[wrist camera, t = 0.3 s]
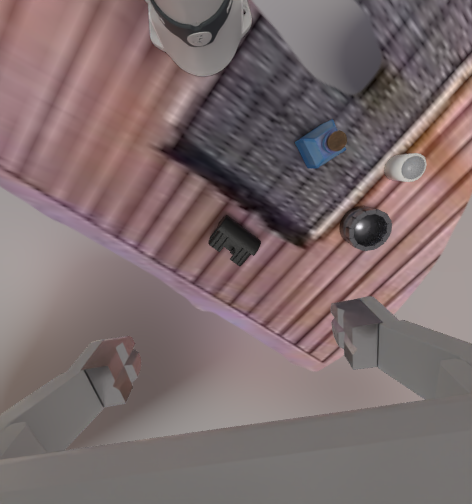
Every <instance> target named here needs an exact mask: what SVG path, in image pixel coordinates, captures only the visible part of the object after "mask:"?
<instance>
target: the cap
mask: <svg viewBox="0 0 472 504" xmlns="http://www.w3.org/2000/svg"><path fill="white" fill-rule="evenodd" d="M425 169H426V160H425V158H424V156H422V155H421V154H418V153H414V154H401V155H395V156H393V157H391V158H390V159H389V160H388V161H387V163H386V164H385V167H384V173H385V176H386V177H387V178H388V179H389V180H393V181H406V182H412V181H415V180H417V179H418V178H420V177H421V176H422V175H423V173H424V171H425Z"/></svg>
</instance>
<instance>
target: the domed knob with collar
mask: <svg viewBox="0 0 472 504" xmlns="http://www.w3.org/2000/svg"><path fill="white" fill-rule="evenodd" d="M391 222H392V221H391V220H390V218H389V216H388V215H387V214H386V213H385V212H382V211H380V210H378V209H374V208H369V207H365V206H360V207H356V208H353V209H351V210H350V211H348V212H347V213H346V214H345V215H344V217H343V218H342V220H341V223H340V233H341V236H342V237H343V239H344V240H345V241H347V242H348V243H350V244H351V245H352V246H354V247H355V248H358V249H360V250H363V251H368V250H374V249H376V248H378V247H380V246H381V245H383V244H384V242H386V240H387V239H388V237H389V236H390V234H391V228H392V223H391Z"/></svg>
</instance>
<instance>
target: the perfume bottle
mask: <svg viewBox="0 0 472 504" xmlns="http://www.w3.org/2000/svg"><path fill="white" fill-rule="evenodd" d="M346 142H347V137H346V135H345V133H344V132H342V131H338V130H337V128H336V125H335V123H334V121H333V119H332V120H330V121H327V122H325V123H323V124H321V125H320V126H318V127H317V128H315V129H314V130H312V131H311V132H309V133H308V134H306V135H305V136H303V137H302V138H300V139H299V140H297V141H296V142H295V144H296V146H297V148H298V150H299V152H300V154H301V156H302V158H303V160H304V162H305V164H306V166H307V168H318V167H320V166H322V165H323V164H325V163H326V162H328V161H329V160H331V159H333V158H334V157H336V156H337V155H339V154H340V153H342V152H343V151H345V150H346V148H345V145H346Z"/></svg>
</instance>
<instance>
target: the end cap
mask: <svg viewBox="0 0 472 504" xmlns="http://www.w3.org/2000/svg"><path fill="white" fill-rule="evenodd" d="M260 244H261V241H260V240H259V239H258V238H256V237H255V236H254V235H252V234H251V233H250V232H248V231H247V230H246V229H244V228H243V227H242V226H240V225H239V224H238V223H237V222H235V221H234V220H233V219H231V218H230V217H229V216H227V215H226V216H224V217H223V218H222V220H221V221H220V222H219V224H218V228H217V229H216V230H215V231H214V233H213V234H212V235H211V237H210V240H209V245H210V246H212V247H213V248H215V249H216V250H217V251H219V252H220V251H221V250H222V248H223V247H225V248H226V249H228V250H229V251H231V252H230V253H231V254H233V256H232V257H231V258H230V260H231V261H233V262H234V263H236V264H237V265H239V266H241V265H242V264H243V263H244V262H245V261H246V260H247V258H248V257H249V256H250V255H251V254H252V255H253V256H254V255H255V254H256V252H257V251H258V249H259V247H260Z"/></svg>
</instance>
